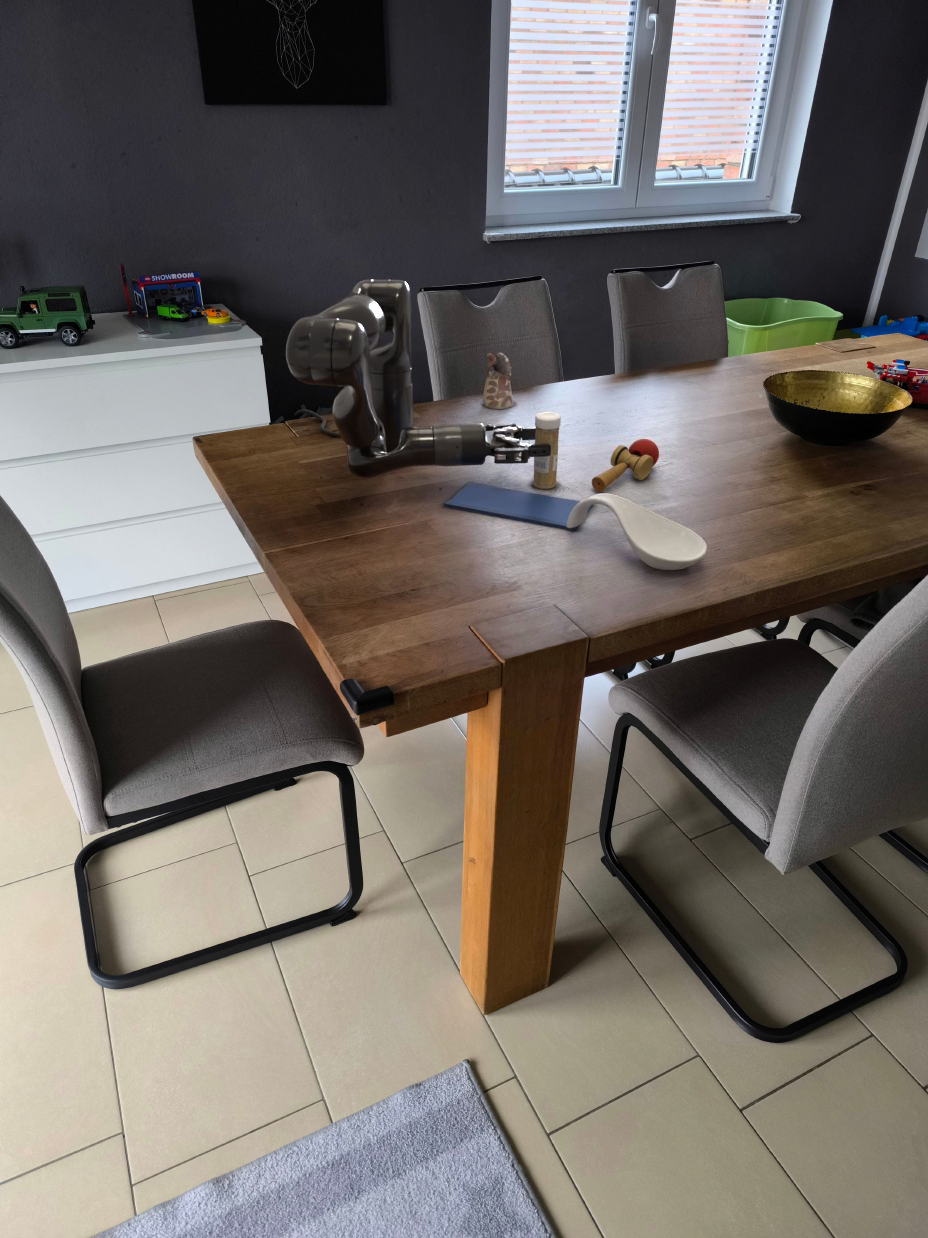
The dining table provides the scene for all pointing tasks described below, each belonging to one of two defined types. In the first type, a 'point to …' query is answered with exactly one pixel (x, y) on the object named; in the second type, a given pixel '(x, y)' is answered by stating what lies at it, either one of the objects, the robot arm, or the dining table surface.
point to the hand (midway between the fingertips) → (546, 441)
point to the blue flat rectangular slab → (514, 505)
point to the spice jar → (549, 433)
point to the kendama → (629, 463)
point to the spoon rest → (647, 533)
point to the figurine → (498, 383)
